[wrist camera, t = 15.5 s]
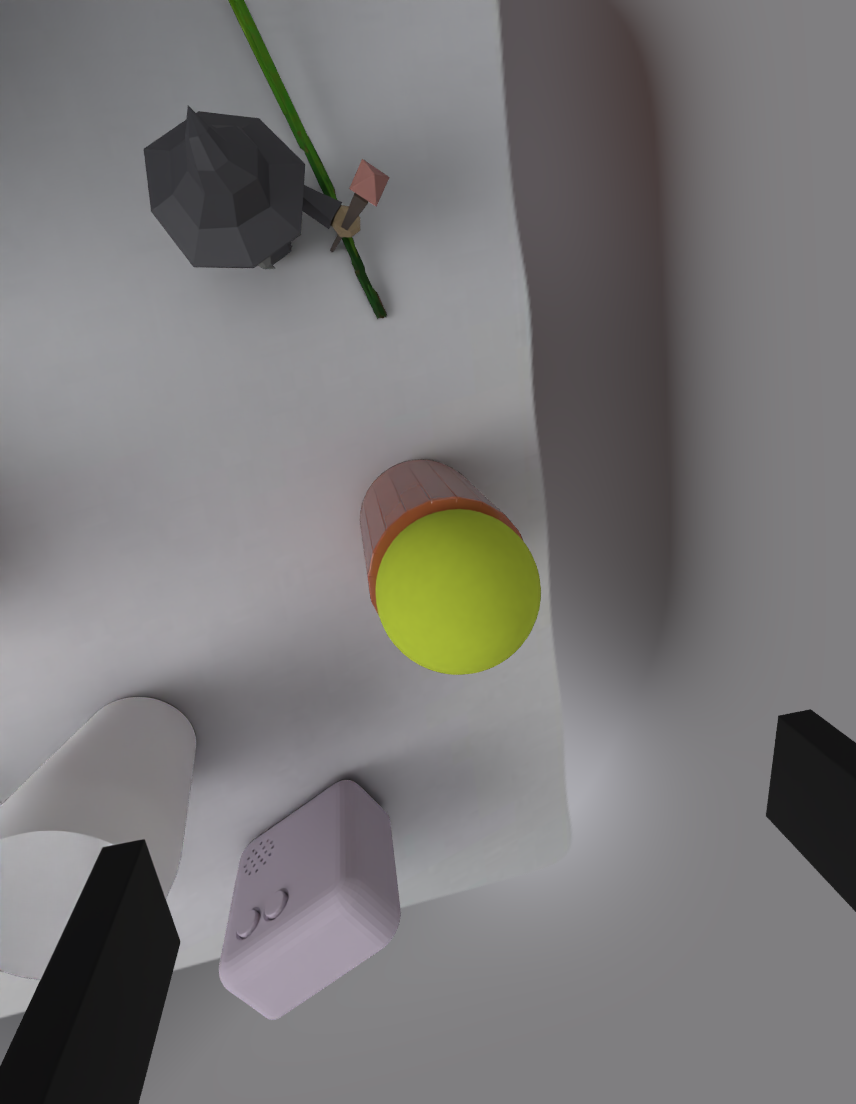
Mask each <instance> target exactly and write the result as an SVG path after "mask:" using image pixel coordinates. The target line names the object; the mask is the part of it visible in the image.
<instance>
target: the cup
mask: <svg viewBox="0 0 856 1104" xmlns="http://www.w3.org/2000/svg"><path fill="white" fill-rule="evenodd" d="M195 751H196V736H195V732H194V729H193V727H192V725H191V723H190V722H189V720H188V719H187V718H186V717H185V716H184V715H183V714H182V713H181V712H180V711H179V710H178V709H176V708H175V707H173V706H171V705H170V704H168V703H165V702H163V701H160V700H157V699H153V698H147V697H130V698H124V699H120V700H117V701H114V702H112V703H109V704H107V705H106V706H104V707H103V708H101V709H100V710H99V711H98V712H96V713H95V714H94V715H93V716H92V717H91V718H90V719H89V720H88V721H87V722H86V723H85V724H84V725H83V726H82V727H81V728H80V729H79V730H78V731H77V732H76V733H75V734H74V735H73V736H72V737H71V738H70V739H69V740H68V741H67V742H65V743H64V744H63V745H62V746H61V747H60V748H59V749H58V750H57V751H56V752H55V753H54V754H53V755H52V756H51V757H50V758H49V759H48V760H47V761H46V762H45V763H44V764H43V765H42V766H41V767H40V768H39V769H38V770H37V771H36V772H35V773H34V774H33V775H31V776H30V777H29V778H28V779H27V780H26V781H25V782H24V783H23V784H22V785H21V786H20V787H19V788H18V789H17V790H16V791H15V792H14V793H13V794H12V795H11V796H10V797H9V798H8V799H7V800H6V801H5V802H4V803H3V804H2V805H1V806H0V971H2V972H5V973H8V974H11V975H15V976H19V977H24V978H29V979H36V980H41V978H42V976H43V974H44V971H45V969H46V967H47V965H48V963H49V961H50V959H51V956H52V954H53V952H54V950H55V948H56V946H57V944H58V941H59V939H60V937H61V935H62V933H63V931H64V929H65V926H66V924H67V922H68V920H69V918H70V916H71V914H72V911H73V909H74V907H75V905H76V903H77V901H78V899H79V896H80V894H81V892H82V890H83V888H84V886H85V884H86V881H87V879H88V877H89V875H90V873H91V871H92V869H93V866H94V864H95V862H96V860H97V858H98V856H99V854H100V851H101V849H102V847H106V846H111V845H116V844H121V843H126V842H132V841H137V840H142V839H145V841H146V844H147V847H148V850H149V853H150V856H151V858H152V861H153V864H154V867H155V870H156V873H157V876H158V879H159V882H160V884H161V887H162V890H163V893H164V896H165V899H166V898H167V896H168V893H169V891H170V889H171V886H172V884H173V882H174V880H175V878H176V875H177V872H178V868H179V864H180V860H181V854H182V847H183V840H184V833H185V826H186V818H187V811H188V803H189V796H190V789H191V781H192V774H193V766H194V759H195Z"/></svg>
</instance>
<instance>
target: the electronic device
mask: <svg viewBox="0 0 856 1104" xmlns="http://www.w3.org/2000/svg"><path fill="white" fill-rule="evenodd" d="M400 914H401V913H400V902H399V893H398V884H397V876H396V867H395V858H394V849H393V840H392V832H391V823H390V817H389V815H388V814H387V813H386V812H385V811H384V810H383V809H382V808H381V807H380V806H379V805H378V804H377V803H376V802H375V801H374V800H373V799H372V798H371V797H370V796H369V795H368V794H367V793H366V792H365V791H364V790H363V789H362V788H361V787H360V786H359V785H358V784H357V783H355V782H354V781H350V780H342V781H339V782H337V783H335V784H333V785H332V786H331V787H329V788H328V789H326V790H325V791H323V792H322V793H321V794H319V795H318V796H316V797H315V798H313V799H312V800H311V801H309V802H308V803H306V804H305V805H303V806H302V807H301V808H299V809H298V810H296V811H295V812H293V813H292V814H291V815H289V816H288V817H286V818H285V819H283V820H282V821H281V822H279V823H278V824H276V825H275V826H273V827H272V828H271V829H269V830H268V831H266V832H265V833H263V834H262V835H261V836H259V837H258V838H256V839H255V840H253V841H252V842H251V843H250V844H249V845H248V846H247V847H246V848H245V850H244V851H243V853H242V855H241V858H240V862H239V867H238V872H237V877H236V882H235V887H234V892H233V897H232V902H231V907H230V913H229V918H228V923H227V928H226V933H225V938H224V943H223V948H222V953H221V959H220V964H219V975H220V979H221V982H222V984H223V986H224V987H225V988H226V989H227V990H229V991H230V992H231V993H233V994H234V995H235V996H237V997H238V998H240V999H241V1000H242V1001H244V1002H245V1003H247V1004H248V1005H250V1006H251V1007H252V1008H254V1009H255V1010H256V1011H258V1012H259V1013H261V1014H262V1015H263V1016H265V1017H266V1018H268V1019H270V1020H275V1019H278V1018H280V1017H282V1016H283V1015H284V1014H286V1013H287V1012H289V1011H291V1010H292V1009H293V1008H295V1007H296V1006H298V1005H299V1004H301V1003H302V1002H304V1001H305V1000H307V999H308V998H310V997H311V996H313V995H314V994H316V993H317V992H319V991H320V990H322V989H323V988H325V987H326V986H328V985H329V984H331V983H332V982H334V981H335V980H337V979H338V978H340V977H341V976H343V975H344V974H346V973H347V972H349V971H350V970H351V969H353V968H355V967H356V966H358V965H359V964H360V963H362V962H363V961H365V960H367V959H368V958H369V957H371V956H372V955H374V954H375V953H377V952H378V951H380V950H381V949H383V948H384V947H385V946H386V945H387V944H388V943H389V942H390V940H391V939H392V938H393V936H394V935H395V933H396V930H397V928H398V925H399V922H400V916H401V915H400Z"/></svg>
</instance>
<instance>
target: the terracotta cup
mask: <svg viewBox="0 0 856 1104" xmlns="http://www.w3.org/2000/svg"><path fill="white" fill-rule="evenodd" d="M453 509H464V510H472V511H477V512H481V513H483V514H486V515H489V516H492V517H494V518H496V519H498V520H500V521H501V522H503V523H504V524H506V525H507V526H508V527H510V528H511V529H512V530H513V531H514V532H515V533H516V534H517V535H518V536H519V537H520V538H521V539H522V537H521V534H520V533H519V530H518V529H517V528H516V527H515V526H514V525H513V523H512V522H511V521H510V520H509V519H508V518H507V517H506V515H505V514H504V513H503V512H501V511H500V510H499V509H498V508H497V507H496V506H495V505H494V504H493V503H492V502H491V501H490V500H489V499H487V498H486V497H485V496H484V495H483V494H482V493H481V492H480V491H479V490H478V489H477V488H476V487H475V486H473V485H472V484H471V483H470V482H469V481H468V480H467V479H466V478H465V477H464V476H463V475H462V474H460V473H459V472H457V471H456V470H454V469H453V468H451V467H450V466H448V465H446V464H443V463H440V462H437V461H433V460H425V459H418V460H410V461H405V462H402V463H399V464H397V465H395V466H393V467H391V468H389V469H388V470H386V471H385V472H383V473H382V474H381V475H380V476H379V477H378V478H377V479H376V480H375V481H374V482H373V483H372V485H371V486H370V488H369V489H368V491H367V493H366V495H365V497H364V500H363V503H362V507H361V513H360V526H361V533H362V541H363V548H364V555H365V562H366V569H367V577H368V584H369V591H370V598H371V602H372V604H373V606H374V607H375V609H376V611H377V613H378V609H377V604H376V579H377V574H378V569H379V566H380V564H381V561H382V558H383V557H384V555H385V553H386V551H387V549H388V547H389V546H390V544H391V543H392V542H393V540H394V539H395V538H396V537H397V536H398V535H399V534H400V532H402V531H403V530H404V529H405V528H406V527H407V526H409V525H410V524H412V523H413V522H415V521H416V520H418V519H420V518H422V517H424V516H426V515H429V514H432V513H435V512H439V511H445V510H453ZM522 540H523V539H522ZM378 615H379V614H378Z"/></svg>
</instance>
